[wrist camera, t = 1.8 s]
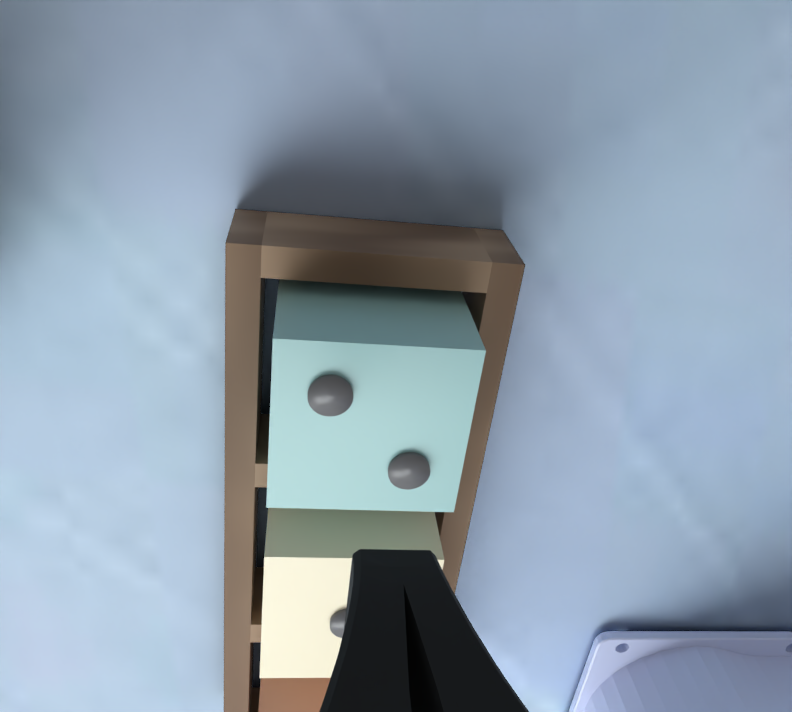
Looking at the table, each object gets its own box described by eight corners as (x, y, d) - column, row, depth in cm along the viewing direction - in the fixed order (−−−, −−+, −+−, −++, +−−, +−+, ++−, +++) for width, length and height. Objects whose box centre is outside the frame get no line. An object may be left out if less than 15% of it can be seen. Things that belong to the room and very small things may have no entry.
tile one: (428, 480, 22) (445, 564, 19) (408, 592, 24) (421, 681, 21) (270, 476, 21) (263, 561, 18) (266, 590, 23) (259, 682, 20)
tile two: (460, 289, 19) (487, 354, 16) (435, 436, 21) (454, 516, 18) (279, 277, 18) (272, 342, 15) (272, 430, 20) (265, 511, 17)
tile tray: (502, 230, 20) (525, 264, 18) (411, 699, 29) (419, 758, 27) (235, 209, 19) (225, 242, 17) (230, 701, 28) (223, 762, 26)
